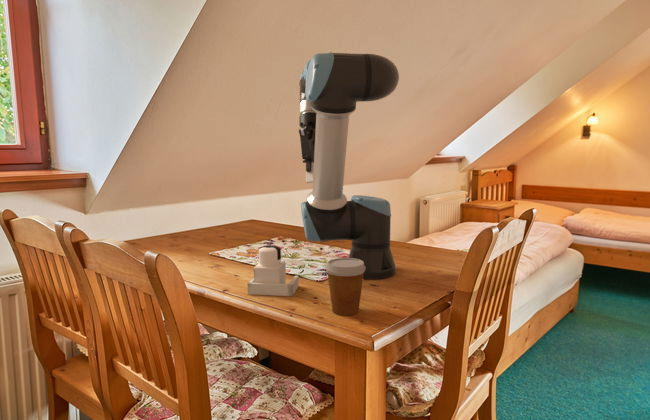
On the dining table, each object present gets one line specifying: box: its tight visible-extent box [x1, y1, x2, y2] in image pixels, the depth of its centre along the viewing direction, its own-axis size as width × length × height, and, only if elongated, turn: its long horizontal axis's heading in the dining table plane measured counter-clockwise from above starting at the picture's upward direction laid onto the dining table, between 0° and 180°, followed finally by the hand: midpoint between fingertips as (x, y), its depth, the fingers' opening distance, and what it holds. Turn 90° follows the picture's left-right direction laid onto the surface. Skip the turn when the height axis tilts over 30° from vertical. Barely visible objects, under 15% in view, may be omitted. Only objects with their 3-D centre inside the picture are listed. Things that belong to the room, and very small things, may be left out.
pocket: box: [246, 275, 300, 297], centre depth 132 cm, size 12×8×3 cm
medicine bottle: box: [253, 244, 287, 284], centre depth 132 cm, size 7×7×12 cm
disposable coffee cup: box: [324, 257, 366, 316], centre depth 115 cm, size 10×10×12 cm
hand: (310, 182), depth 161 cm, fingers closed
